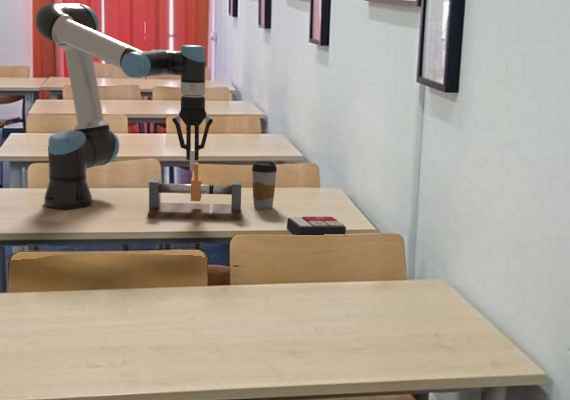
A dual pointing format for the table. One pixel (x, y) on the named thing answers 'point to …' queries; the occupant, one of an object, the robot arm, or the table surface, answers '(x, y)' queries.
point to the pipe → (159, 187)
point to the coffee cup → (263, 184)
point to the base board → (195, 211)
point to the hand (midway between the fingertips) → (192, 170)
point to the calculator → (315, 226)
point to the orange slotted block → (196, 185)
